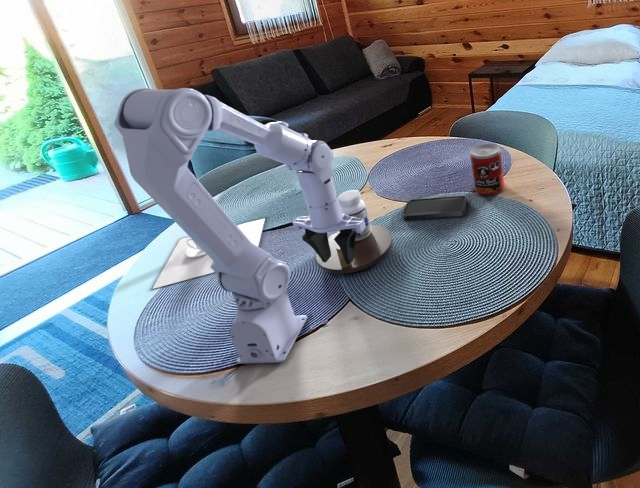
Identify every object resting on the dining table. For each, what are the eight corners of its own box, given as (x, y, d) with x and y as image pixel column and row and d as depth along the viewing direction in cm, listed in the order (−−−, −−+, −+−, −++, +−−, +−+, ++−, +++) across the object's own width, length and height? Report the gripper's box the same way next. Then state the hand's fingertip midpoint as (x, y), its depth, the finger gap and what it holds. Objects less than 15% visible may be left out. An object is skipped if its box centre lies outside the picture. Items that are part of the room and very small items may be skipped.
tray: (366, 279, 82) (360, 255, 80) (300, 268, 88) (293, 245, 86) (405, 231, 96) (401, 210, 94) (346, 225, 102) (341, 205, 100)
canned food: (471, 195, 110) (465, 156, 106) (479, 181, 117) (474, 143, 113) (500, 196, 108) (496, 156, 104) (507, 181, 115) (503, 143, 111)
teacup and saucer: (229, 234, 107) (224, 220, 105) (223, 251, 99) (217, 237, 98) (190, 244, 104) (184, 230, 103) (181, 263, 97) (174, 247, 96)
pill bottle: (347, 229, 98) (337, 191, 94) (372, 225, 98) (363, 186, 94) (344, 244, 92) (333, 203, 89) (371, 239, 93) (361, 198, 89)
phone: (408, 199, 109) (466, 195, 108) (408, 203, 110) (467, 199, 108) (401, 216, 102) (464, 211, 100) (402, 220, 102) (464, 216, 101)
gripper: (366, 190, 82) (380, 249, 87) (301, 189, 86) (318, 246, 91) (348, 209, 76) (364, 272, 81) (278, 208, 80) (298, 267, 85)
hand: (338, 260), depth 86 cm, fingers open, 5 cm apart
